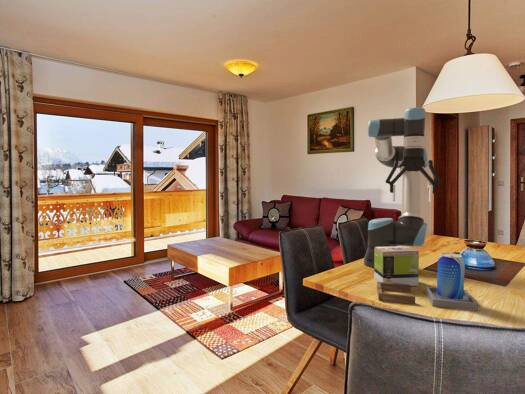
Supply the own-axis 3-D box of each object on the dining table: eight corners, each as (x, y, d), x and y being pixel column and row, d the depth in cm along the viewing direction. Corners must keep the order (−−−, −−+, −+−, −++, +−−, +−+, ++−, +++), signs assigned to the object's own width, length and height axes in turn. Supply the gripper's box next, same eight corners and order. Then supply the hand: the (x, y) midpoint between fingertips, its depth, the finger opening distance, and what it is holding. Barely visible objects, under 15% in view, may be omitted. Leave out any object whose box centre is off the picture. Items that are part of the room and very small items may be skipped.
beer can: (432, 297, 121) (433, 254, 120) (443, 292, 126) (445, 251, 125) (456, 305, 115) (458, 259, 113) (467, 299, 120) (469, 255, 118)
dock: (376, 288, 134) (377, 281, 134) (409, 291, 130) (410, 284, 130) (378, 300, 121) (378, 293, 121) (415, 304, 118) (415, 297, 117)
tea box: (407, 278, 146) (408, 245, 145) (418, 286, 136) (420, 250, 135) (373, 279, 145) (374, 245, 144) (382, 287, 135) (383, 251, 134)
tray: (425, 292, 129) (425, 286, 129) (466, 296, 125) (466, 289, 125) (432, 306, 116) (432, 299, 116) (478, 310, 112) (478, 303, 112)
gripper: (380, 148, 132) (379, 201, 134) (451, 146, 125) (448, 202, 127) (379, 149, 139) (378, 199, 141) (446, 147, 132) (444, 201, 134)
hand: (411, 201), depth 134 cm, fingers open, 13 cm apart
